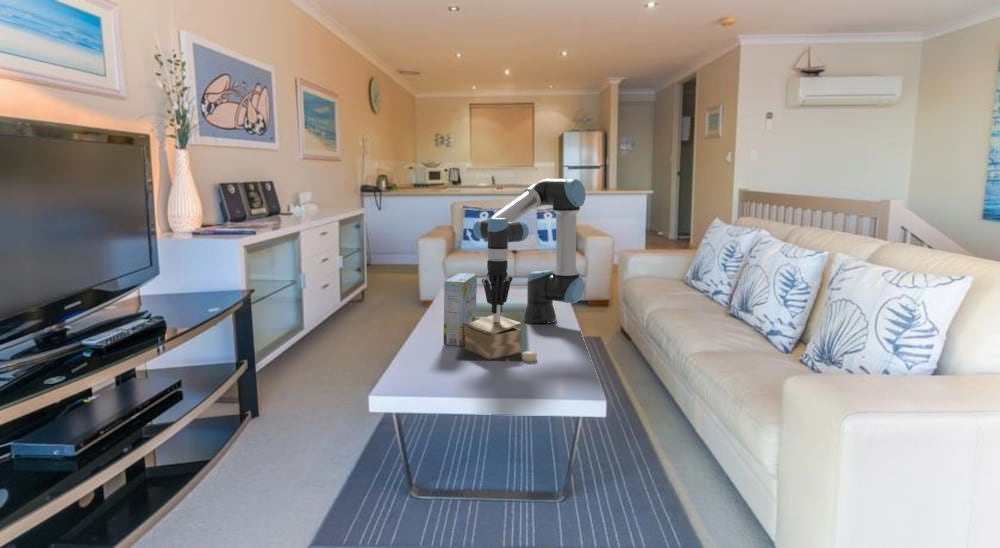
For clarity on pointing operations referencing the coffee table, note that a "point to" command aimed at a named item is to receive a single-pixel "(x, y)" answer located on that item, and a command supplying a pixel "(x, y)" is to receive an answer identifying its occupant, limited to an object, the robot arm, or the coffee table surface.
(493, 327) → the lid
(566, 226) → the robot arm
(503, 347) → the tan open box
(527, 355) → the cream domed disc
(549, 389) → the coffee table surface
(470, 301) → the snack box
